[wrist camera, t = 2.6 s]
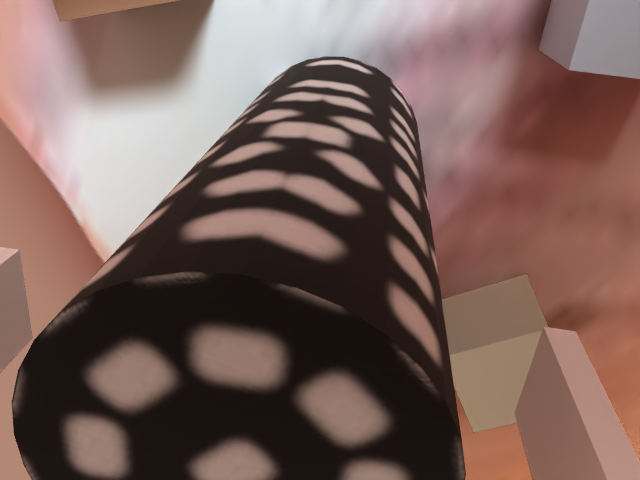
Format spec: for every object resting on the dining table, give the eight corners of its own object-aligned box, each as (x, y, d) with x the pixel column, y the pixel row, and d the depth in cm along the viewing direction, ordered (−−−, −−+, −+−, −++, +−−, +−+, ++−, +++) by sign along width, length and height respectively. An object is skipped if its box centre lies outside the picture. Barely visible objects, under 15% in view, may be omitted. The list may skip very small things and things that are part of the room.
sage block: (434, 300, 32) (441, 357, 27) (526, 273, 30) (549, 328, 26) (463, 369, 34) (473, 432, 29) (550, 346, 32) (575, 409, 28)
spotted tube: (347, 16, 26) (245, 165, 8) (452, 159, 28) (558, 522, 10) (215, 128, 29) (-75, 419, 11) (320, 249, 31) (224, 650, 13)
